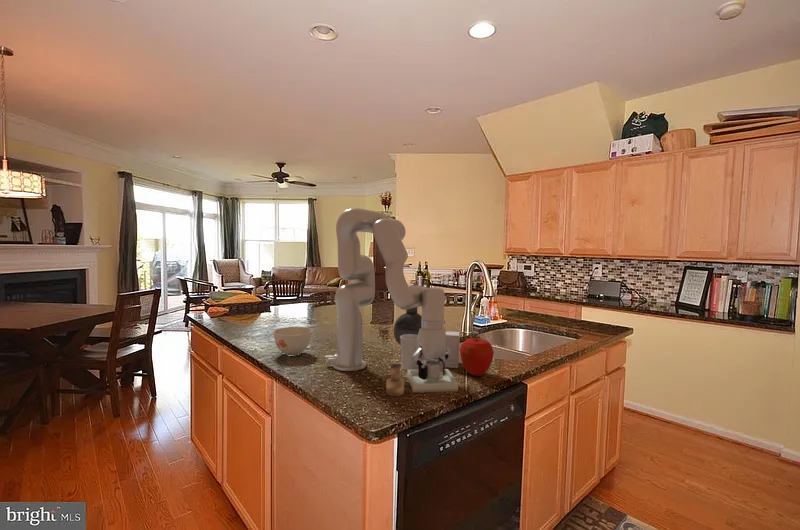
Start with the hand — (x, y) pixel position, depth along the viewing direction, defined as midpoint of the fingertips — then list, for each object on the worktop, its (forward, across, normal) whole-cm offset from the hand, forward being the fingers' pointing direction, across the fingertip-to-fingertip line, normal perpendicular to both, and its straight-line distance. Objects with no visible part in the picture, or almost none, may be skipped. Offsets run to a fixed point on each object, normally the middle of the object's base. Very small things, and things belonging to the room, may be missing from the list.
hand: (431, 375), depth 129 cm
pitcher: (+3, -20, -34) cm, 39 cm away
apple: (+3, -20, +2) cm, 20 cm away
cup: (+3, -4, -17) cm, 18 cm away
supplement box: (+3, -20, -12) cm, 23 cm away
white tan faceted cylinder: (+3, +15, 0) cm, 15 cm away
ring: (0, 0, 0) cm, 0 cm away
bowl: (+3, +26, -58) cm, 64 cm away
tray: (+3, 0, 0) cm, 3 cm away
